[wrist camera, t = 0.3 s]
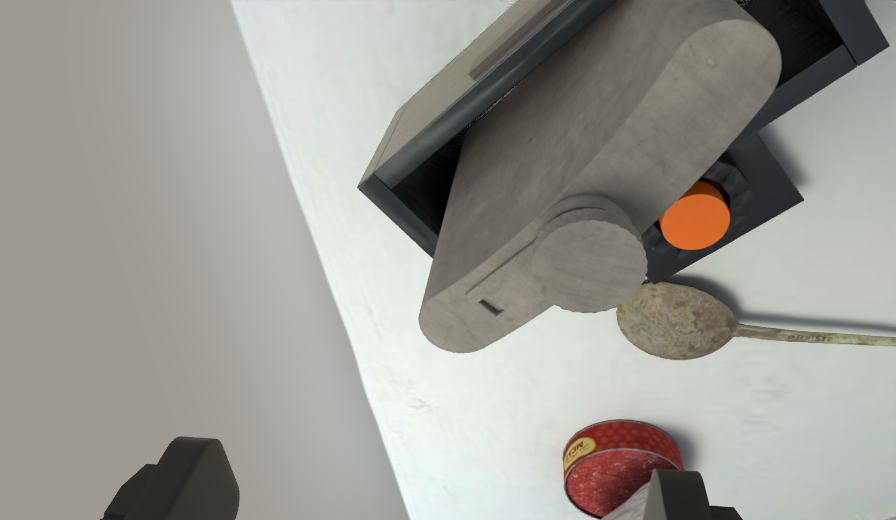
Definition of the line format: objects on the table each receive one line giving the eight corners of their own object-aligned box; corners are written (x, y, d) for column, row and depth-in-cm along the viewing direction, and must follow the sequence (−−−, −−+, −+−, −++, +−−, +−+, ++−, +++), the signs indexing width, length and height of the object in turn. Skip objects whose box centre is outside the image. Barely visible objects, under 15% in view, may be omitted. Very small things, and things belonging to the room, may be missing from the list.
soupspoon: (625, 262, 43) (608, 330, 47) (628, 293, 41) (610, 362, 45) (968, 300, 41) (919, 369, 45) (995, 336, 38) (941, 406, 42)
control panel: (568, 175, 40) (570, 206, 36) (713, 72, 35) (731, 97, 32) (649, 266, 43) (658, 302, 39) (792, 182, 38) (816, 215, 35)
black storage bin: (392, 109, 39) (352, 184, 30) (700, -175, 29) (762, -177, 21) (495, 214, 42) (483, 307, 34) (802, -9, 32) (890, 46, 24)
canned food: (629, 378, 55) (702, 440, 46) (665, 459, 58) (738, 532, 49) (520, 446, 54) (571, 523, 44) (562, 524, 57) (618, 610, 48)
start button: (644, 203, 36) (648, 218, 35) (700, 167, 34) (707, 181, 33) (678, 244, 37) (684, 260, 36) (735, 211, 36) (743, 227, 34)
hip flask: (644, -81, 31) (756, 17, 15) (700, -27, 32) (862, 120, 16) (453, 145, 39) (390, 369, 23) (503, 182, 40) (476, 422, 24)
